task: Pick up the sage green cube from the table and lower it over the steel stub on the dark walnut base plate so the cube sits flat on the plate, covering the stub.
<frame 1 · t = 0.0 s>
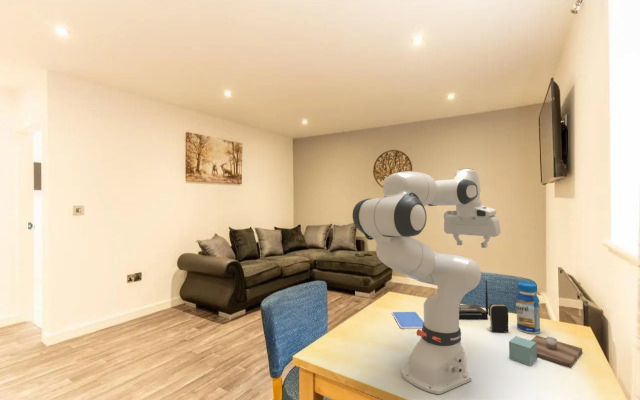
hand: (471, 246, 115), 39 cm above the table, tool pointing down, fingers open, 8 cm apart
sage green cube: (523, 358, 105), on the table
stub plate: (551, 352, 109), on the table
battery charger: (498, 331, 128), on the table
beverage bottle: (528, 330, 128), on the table
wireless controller: (469, 316, 146), on the table
tablet computer: (408, 321, 142), on the table
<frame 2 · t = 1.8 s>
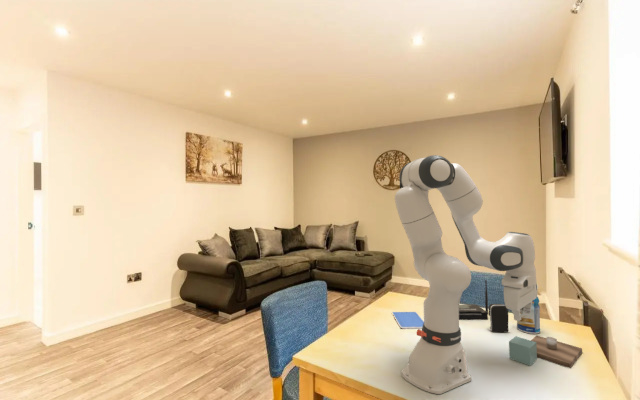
hand: (522, 316, 105), 15 cm above the table, tool pointing down, fingers open, 8 cm apart
nothing on the table moved.
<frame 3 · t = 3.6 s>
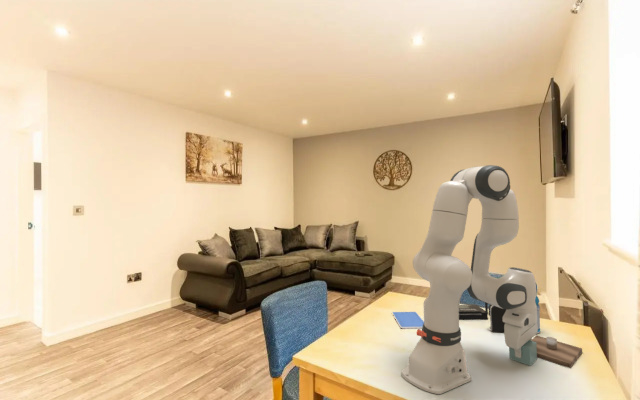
hand: (522, 353, 105), 2 cm above the table, tool pointing down, fingers closed on sage green cube, 6 cm apart
sage green cube: (523, 358, 105), on the table, touching gripper
everything else where it was.
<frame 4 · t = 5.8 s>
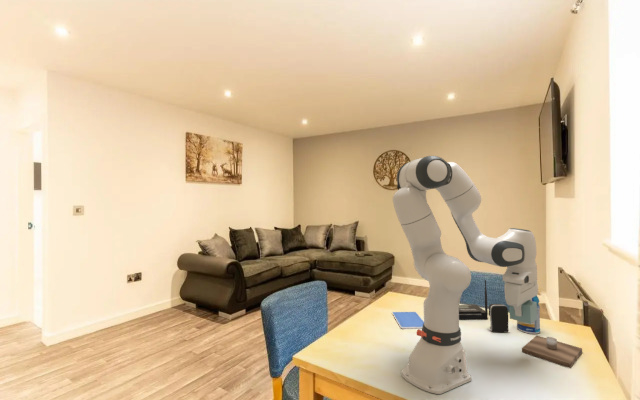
hand: (523, 312, 106), 16 cm above the table, tool pointing down, fingers closed on sage green cube, 6 cm apart
sage green cube: (523, 318, 106), point 14 cm above the table, touching gripper
everything else where it was.
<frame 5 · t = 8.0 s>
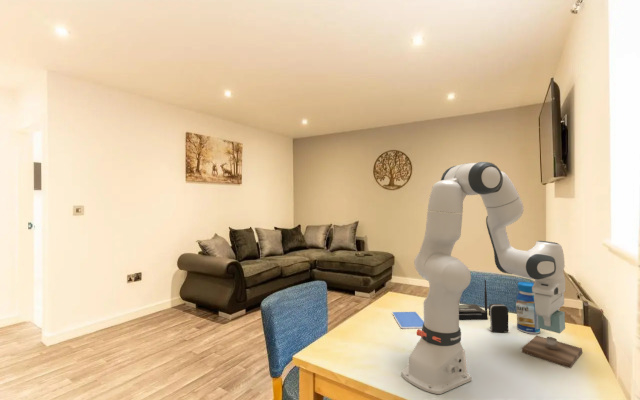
hand: (551, 322, 109), 11 cm above the table, tool pointing down, fingers closed on sage green cube, 6 cm apart
sage green cube: (551, 328, 109), point 9 cm above the table, touching gripper
everything else where it was.
when the fingers open (5 cm above the table, at t = 10.5 s): sage green cube drops 1 cm, resting on stub plate.
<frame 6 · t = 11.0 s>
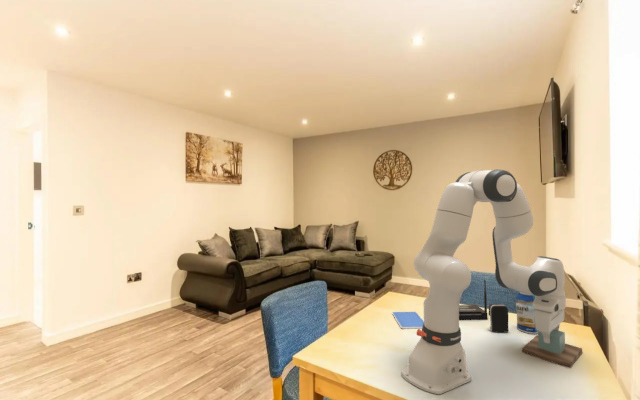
hand: (551, 338, 109), 5 cm above the table, tool pointing down, fingers open, 8 cm apart
sage green cube: (551, 348, 109), point 1 cm above the table, touching stub plate
everything else where it was.
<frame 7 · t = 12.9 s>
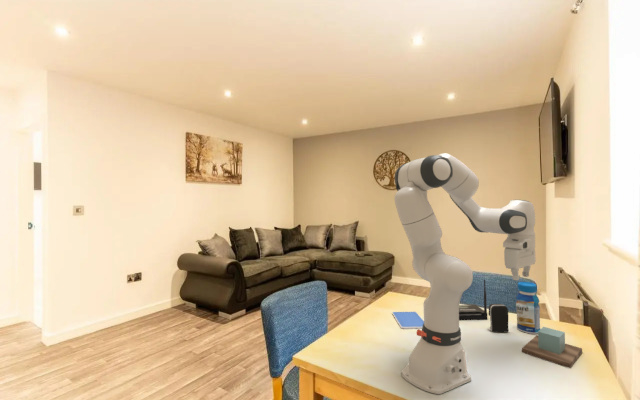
hand: (521, 278, 114), 26 cm above the table, tool pointing down, fingers open, 8 cm apart
nothing on the table moved.
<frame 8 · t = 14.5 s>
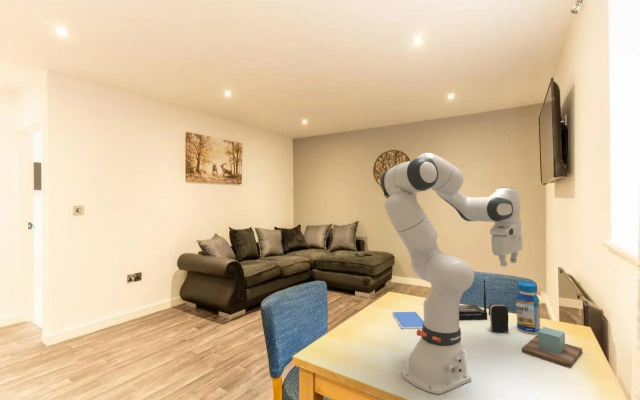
hand: (508, 264, 117), 31 cm above the table, tool pointing down, fingers open, 8 cm apart
nothing on the table moved.
at the end: sage green cube 0.1 cm off-centre on the stub plate, point 1.5 cm above the stub plate's base; sage green cube tilted 0°; the gripper is holding nothing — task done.
